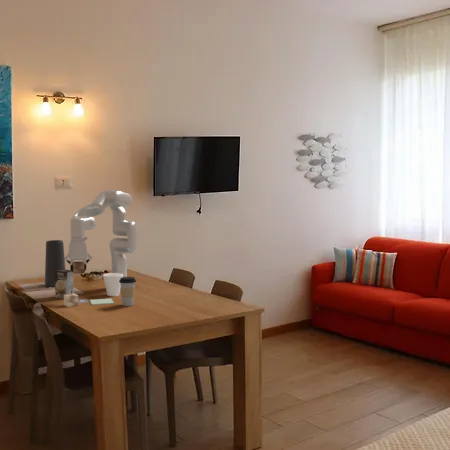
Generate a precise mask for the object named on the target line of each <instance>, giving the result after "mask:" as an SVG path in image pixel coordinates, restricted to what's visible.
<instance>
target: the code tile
mask: <svg viewBox="0 0 450 450" xmlns="http://www.w3.org/2000/svg"><path fill="white" fill-rule="evenodd" d="M88 303H90V301H89V300H88V298H81V299H80V298H78V304H88Z"/></svg>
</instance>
